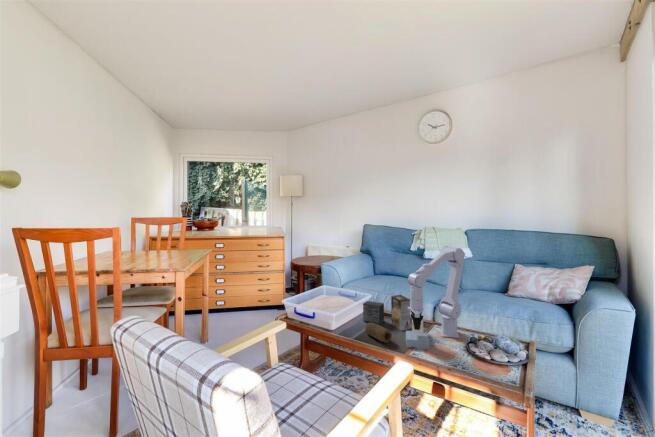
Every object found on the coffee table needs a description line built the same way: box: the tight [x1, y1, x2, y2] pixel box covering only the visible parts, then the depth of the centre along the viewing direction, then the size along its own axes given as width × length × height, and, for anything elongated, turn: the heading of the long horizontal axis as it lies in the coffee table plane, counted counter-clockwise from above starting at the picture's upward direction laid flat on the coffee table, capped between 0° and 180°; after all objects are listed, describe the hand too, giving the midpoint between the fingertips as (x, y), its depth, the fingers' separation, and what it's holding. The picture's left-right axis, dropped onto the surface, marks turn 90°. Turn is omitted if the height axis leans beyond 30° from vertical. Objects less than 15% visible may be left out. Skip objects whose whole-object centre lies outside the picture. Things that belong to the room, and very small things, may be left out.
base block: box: [405, 330, 430, 349], centre depth 145 cm, size 10×10×4 cm
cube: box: [411, 318, 424, 333], centre depth 145 cm, size 5×5×5 cm
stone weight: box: [364, 322, 393, 343], centre depth 152 cm, size 15×7×7 cm, turn 34°
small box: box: [362, 300, 385, 326], centre depth 173 cm, size 11×6×10 cm, turn 58°
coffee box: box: [390, 294, 411, 331], centre depth 164 cm, size 9×6×16 cm
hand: (416, 327), depth 145 cm, fingers closed on cube, 5 cm apart
